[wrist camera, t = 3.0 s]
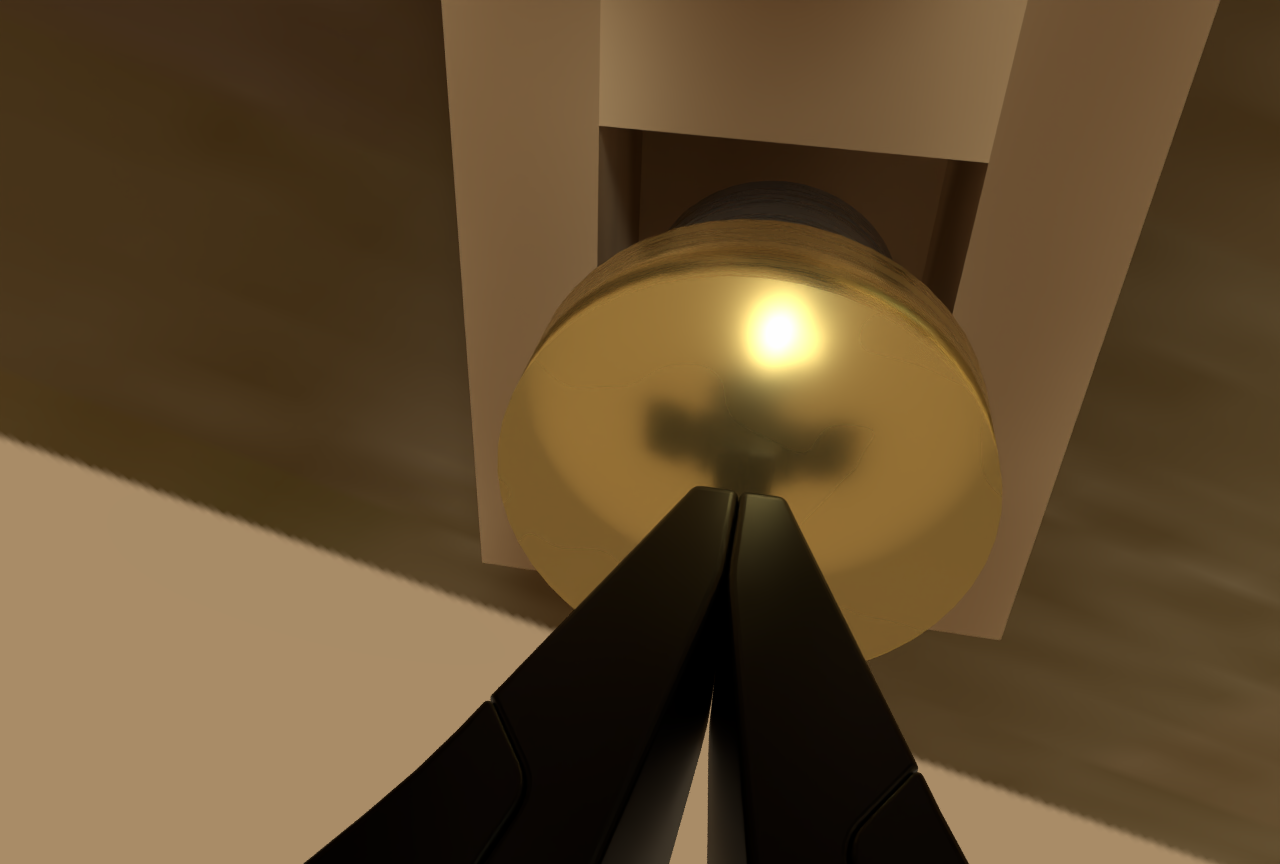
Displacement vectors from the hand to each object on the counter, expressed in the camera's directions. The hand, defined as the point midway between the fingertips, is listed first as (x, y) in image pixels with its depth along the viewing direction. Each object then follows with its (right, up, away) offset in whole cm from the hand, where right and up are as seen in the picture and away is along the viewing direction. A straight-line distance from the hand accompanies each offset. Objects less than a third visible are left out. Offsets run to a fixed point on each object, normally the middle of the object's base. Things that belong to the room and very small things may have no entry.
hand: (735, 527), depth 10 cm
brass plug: (+1, +3, +4) cm, 5 cm away
